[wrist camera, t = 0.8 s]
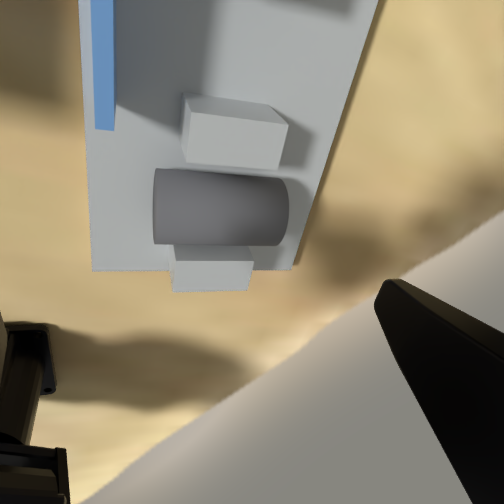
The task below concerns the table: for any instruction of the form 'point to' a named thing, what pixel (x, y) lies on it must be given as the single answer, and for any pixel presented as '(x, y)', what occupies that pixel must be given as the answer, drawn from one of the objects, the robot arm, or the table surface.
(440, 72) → the table surface
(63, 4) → the table surface
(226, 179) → the dark gray cylinder
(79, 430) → the table surface
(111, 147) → the white base plate
